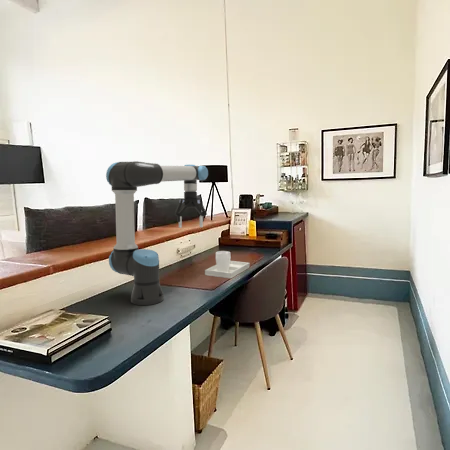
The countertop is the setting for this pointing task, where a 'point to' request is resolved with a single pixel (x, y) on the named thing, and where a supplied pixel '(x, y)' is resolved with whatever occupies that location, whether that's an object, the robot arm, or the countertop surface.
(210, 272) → the tray
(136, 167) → the robot arm
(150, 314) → the countertop surface
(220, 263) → the cup
